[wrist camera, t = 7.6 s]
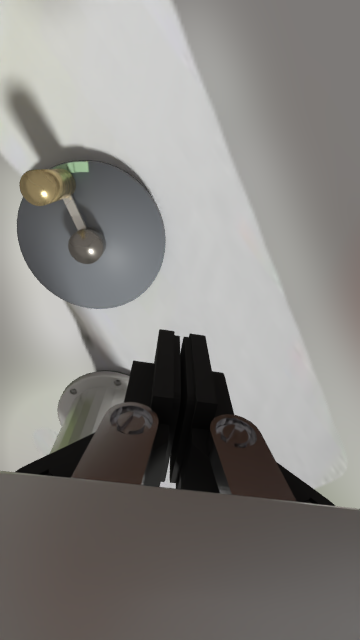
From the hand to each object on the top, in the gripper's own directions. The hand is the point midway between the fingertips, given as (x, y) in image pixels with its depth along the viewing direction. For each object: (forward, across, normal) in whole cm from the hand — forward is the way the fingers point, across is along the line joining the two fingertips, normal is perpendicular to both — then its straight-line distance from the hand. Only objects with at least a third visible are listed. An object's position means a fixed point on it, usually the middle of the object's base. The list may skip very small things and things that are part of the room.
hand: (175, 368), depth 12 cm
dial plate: (+23, +8, +1) cm, 24 cm away
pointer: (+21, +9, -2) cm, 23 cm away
